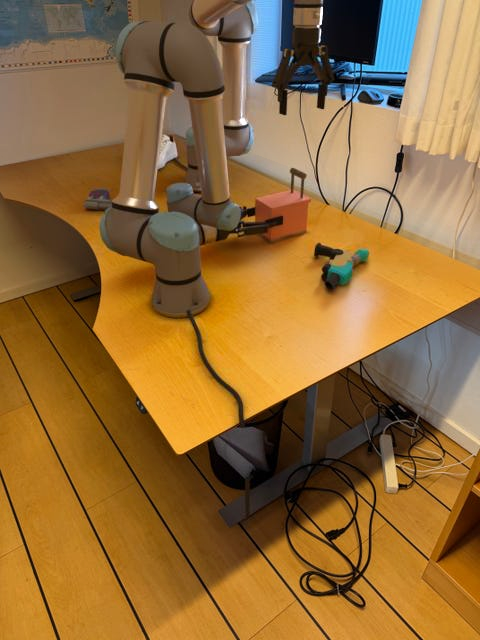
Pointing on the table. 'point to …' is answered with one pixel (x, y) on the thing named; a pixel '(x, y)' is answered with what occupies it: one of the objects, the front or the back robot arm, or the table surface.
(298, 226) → the chest
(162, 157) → the sneaker
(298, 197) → the lid
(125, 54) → the front robot arm
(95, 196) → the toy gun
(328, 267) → the toy gun
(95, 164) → the table surface
